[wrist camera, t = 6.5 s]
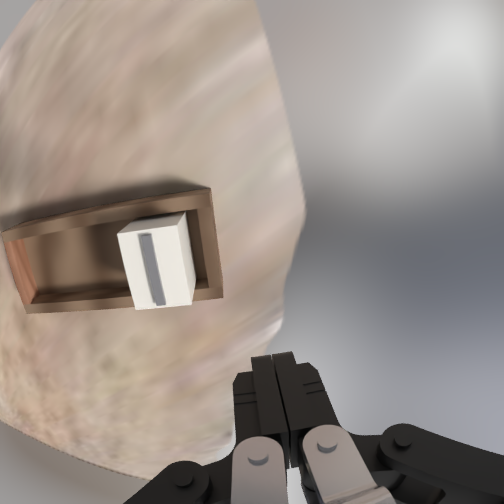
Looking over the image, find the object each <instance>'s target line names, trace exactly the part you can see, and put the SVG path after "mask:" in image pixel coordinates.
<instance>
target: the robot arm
mask: <svg viewBox="0 0 504 504" xmlns="http://www.w3.org/2000/svg"><path fill="white" fill-rule="evenodd" d="M251 363H252V370H253V371H250V372H242V373H238V374H237V376H236V378H235V380H234V382H233V396H234V397H233V398H234V415H235V430H236V444H235V447H234V449H233V450H232V452H231V453H230V454H229V455H228V456H226V457H225V458H223V459H222V460H219V461H217V462H214V463H211V464H208V465H205V466H201V465H200V464H198V463H195V462H192V461H178V462H175V463H172V464H170V465H168V466H167V467H166V468H165V469H164V470H162V471H161V472H160V473H159V474H158V475H157V476H156V477H154V478H153V479H152V480H151V481H150V482H149V483H147V484H146V485H145V486H144V487H143V488H142V489H140V490H139V491H138V492H137V493H136V494H134V495H133V496H132V497H131V498H130V499H128V500H127V501H126V502H125V503H123V504H288V495H287V469H289V459H290V463H291V468H294V467H299V470H300V474H301V486H302V489H303V492H304V495H305V498H306V501H307V504H504V455H500V454H496V453H493V452H489V451H486V450H482V449H479V448H476V447H473V446H470V445H467V444H463V443H461V442H457V441H455V440H451V439H449V438H446V437H443V436H440V435H438V434H435V433H432V432H429V431H426V430H424V429H421V428H418V427H416V426H414V425H411V424H403V423H402V424H396V425H393V426H391V427H389V428H387V429H386V430H385V431H384V433H383V434H382V435H367V436H366V435H365V436H364V435H363V436H362V435H355V434H352V433H350V432H348V431H346V430H345V429H343V428H342V427H341V425H340V424H339V422H338V420H337V417H336V415H335V412H334V410H333V407H332V405H331V403H330V400H329V397H328V395H327V392H326V391H325V387H324V385H323V383H322V380H321V378H320V375H319V373H318V370H317V369H315V368H314V367H313V366H312V365H311V364H310V363H302V364H296V361H295V358H294V355H293V353H292V351H291V352H285V353H278V354H272V358H271V355H265V356H258V357H251Z"/></svg>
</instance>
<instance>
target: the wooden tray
mask: <svg viewBox="0 0 504 504" xmlns="http://www.w3.org/2000/svg"><path fill="white" fill-rule="evenodd" d="M185 210H186V213H187V220H188V226H189V233H190V239H191V246H192V252H193V258H194V264H195V270H196V275H197V277H196V283H195V288H194V294H193V300H192V301H200V300H209V299H218V298H223V277H222V270H221V263H220V256H219V249H218V241H217V234H216V226H215V218H214V210H213V202H212V194H211V188H208V189H201V190H193V191H186V192H179V193H172V194H165V195H159V196H153V197H146V198H140V199H134V200H129V201H123V202H117V203H112V204H107V205H101V206H96V207H91V208H86V209H81V210H76V211H72V212H67V213H62V214H58V215H53V216H49V217H45V218H41V219H36V220H32V221H28V222H24V223H20V224H18V225H16V226H14V227H12V228H9V229H7V230H5V231H3V232H1V233H2V237H3V241H4V245H5V249H6V253H7V257H8V260H9V263H10V267H11V270H12V273H13V276H14V280H15V283H16V286H17V289H18V291H19V294H20V297H21V300H22V302H23V305H24V308H25V310H26V313H27V314H30V313H52V312H71V311H87V310H101V309H115V308H127V307H135V305H134V302H133V298H132V294H131V291H130V287H129V283H128V279H127V275H126V271H125V267H124V263H123V259H122V254H121V250H120V245H119V241H118V236H117V233H119V232H120V231H121V230H122V229H123V228H125V227H126V226H127V225H128V224H129V223H131V222H132V221H133V220H134V219H135V218H137V217H143V216H150V215H156V214H163V213H170V212H177V211H185Z"/></svg>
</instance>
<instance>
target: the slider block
mask: <svg viewBox="0 0 504 504" xmlns="http://www.w3.org/2000/svg"><path fill="white" fill-rule="evenodd" d="M117 236H118V241H119V245H120V250H121V254H122V259H123V263H124V267H125V271H126V275H127V279H128V283H129V287H130V291H131V294H132V298H133V302H134V305H135V309H136V310H140V309H152V308H163V307H173V306H183V305H192V300H193V294H194V288H195V283H196V277H197V275H196V270H195V264H194V258H193V252H192V246H191V239H190V233H189V226H188V220H187V213H186V210H185V211H177V212H170V213H163V214H156V215H150V216H143V217H137V218H135V219H134V220H133V221H132V222H131V223H129V224H128V225H127V226H126V227H125V228H123V229H122V230H121V231H120V232H119V233H117Z"/></svg>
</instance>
